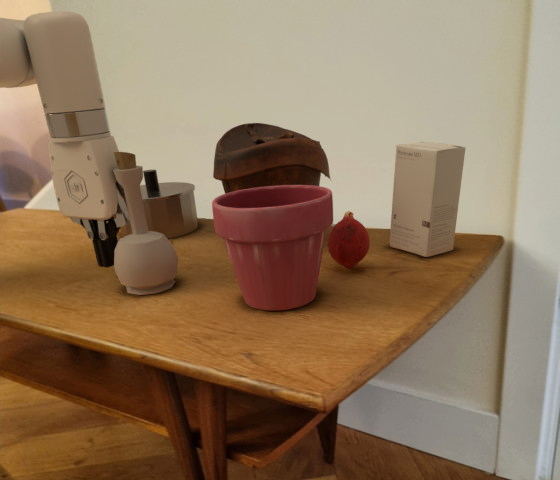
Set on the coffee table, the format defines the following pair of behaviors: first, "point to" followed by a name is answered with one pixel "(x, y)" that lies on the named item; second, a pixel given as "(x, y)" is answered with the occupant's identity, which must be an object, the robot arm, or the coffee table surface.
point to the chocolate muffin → (267, 158)
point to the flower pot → (275, 241)
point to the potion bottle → (141, 239)
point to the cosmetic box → (426, 197)
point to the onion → (348, 241)
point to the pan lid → (162, 188)
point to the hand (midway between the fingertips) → (110, 264)
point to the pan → (169, 216)
